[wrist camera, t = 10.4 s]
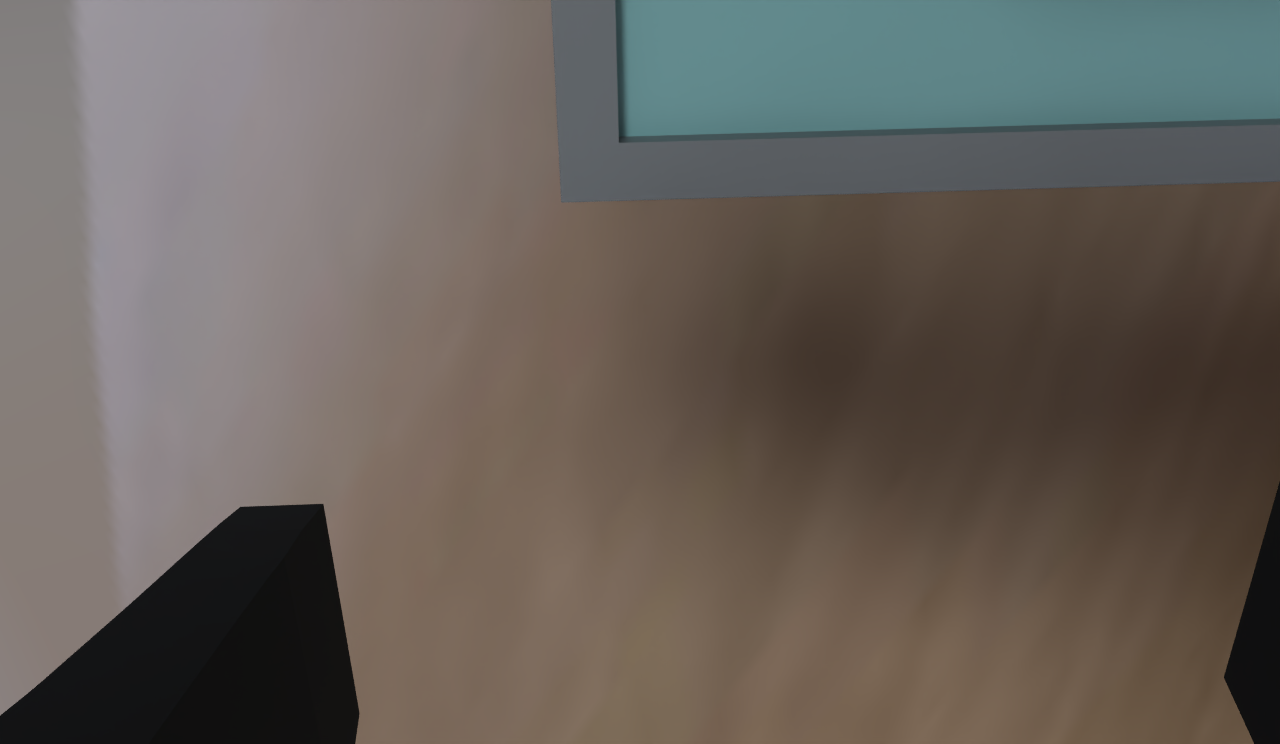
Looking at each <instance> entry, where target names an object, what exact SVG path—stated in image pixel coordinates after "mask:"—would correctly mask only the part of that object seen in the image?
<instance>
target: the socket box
mask: <svg viewBox="0 0 1280 744" xmlns="http://www.w3.org/2000/svg"><path fill="white" fill-rule="evenodd" d="M551 8H552V27H553V47H554V67H555V87H556V106H557V126H558V146H559V166H560V186H561V202H593V201H627V200H661V199H695V198H730V197H764V196H798V195H833V194H867V193H901V192H936V191H970V190H1004V189H1038V188H1073V187H1107V186H1141V185H1176V184H1210V183H1244V182H1278V181H1280V0H551Z"/></svg>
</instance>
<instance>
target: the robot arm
mask: <svg viewBox="0 0 1280 744" xmlns="http://www.w3.org/2000/svg"><path fill="white" fill-rule="evenodd" d="M1224 679H1225V681H1226V683H1227V685H1228V687H1229V690H1230V692H1231V694H1232V696H1233V698H1234V701H1235V703H1236V705H1237V707H1238V709H1239V711H1240V714H1241V716H1242V718H1243V720H1244V722H1245V725H1246V727H1247V729H1248V731H1249V733H1250V735H1251V738H1252V740H1253V742H1254V744H1280V483H1279V486H1278V490H1277V493H1276V497H1275V500H1274V504H1273V507H1272V511H1271V514H1270V518H1269V521H1268V525H1267V528H1266V532H1265V535H1264V539H1263V542H1262V546H1261V549H1260V553H1259V556H1258V560H1257V563H1256V567H1255V570H1254V574H1253V577H1252V581H1251V584H1250V588H1249V591H1248V595H1247V598H1246V602H1245V605H1244V609H1243V612H1242V616H1241V619H1240V623H1239V626H1238V630H1237V633H1236V637H1235V640H1234V644H1233V647H1232V651H1231V654H1230V658H1229V661H1228V665H1227V668H1226V672H1225V675H1224ZM358 720H359V708H358V702H357V696H356V691H355V685H354V679H353V673H352V667H351V662H350V656H349V650H348V644H347V638H346V633H345V627H344V621H343V615H342V610H341V604H340V598H339V592H338V586H337V581H336V575H335V569H334V563H333V557H332V552H331V546H330V540H329V534H328V528H327V523H326V517H325V511H324V505H323V504H308V505H280V506H253V507H240V508H239V509H237V510H236V511H235V512H234V513H232V514H231V515H230V516H229V517H227V518H226V519H225V520H224V521H223V522H221V523H220V524H219V525H218V526H217V527H216V528H214V529H213V530H212V531H211V532H210V533H209V534H208V535H206V536H205V537H204V538H203V539H202V540H201V541H200V542H199V543H197V544H196V545H195V546H194V547H193V548H192V549H191V550H190V551H188V552H187V553H186V554H185V555H184V556H183V557H182V558H181V559H180V560H178V561H177V562H176V563H175V564H174V565H173V566H172V567H171V568H170V569H169V570H167V571H166V572H165V573H164V574H163V575H162V576H161V577H160V578H159V579H157V580H156V581H155V582H154V583H153V584H152V585H151V586H150V587H149V588H147V589H146V590H145V591H144V592H143V593H142V594H141V595H140V596H139V597H137V598H136V599H135V600H134V601H133V602H132V603H131V604H130V605H129V606H127V607H126V608H125V609H124V610H123V611H122V612H121V613H120V614H118V615H117V616H116V617H115V618H114V619H113V620H112V621H110V622H109V623H108V624H107V625H106V626H105V627H104V628H102V629H101V630H100V631H99V632H98V633H97V634H96V635H94V636H93V637H92V638H91V639H90V640H89V641H88V642H86V643H85V644H84V645H83V646H82V647H81V648H80V649H79V650H77V651H76V652H75V653H74V654H73V655H72V656H70V657H69V658H68V659H67V660H66V661H65V662H64V663H62V664H61V665H60V666H59V667H58V668H57V669H56V670H54V672H52V673H51V674H50V675H49V676H48V677H46V679H44V680H43V681H42V682H41V683H40V684H38V685H37V686H36V687H35V688H34V689H32V690H31V691H30V692H29V693H28V694H27V695H25V696H24V697H23V698H22V699H20V700H19V701H18V702H17V703H15V704H14V705H13V706H12V707H10V708H9V709H8V710H7V711H5V712H4V713H3V714H2V715H1V716H0V744H355V741H356V734H357V727H358Z"/></svg>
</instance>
